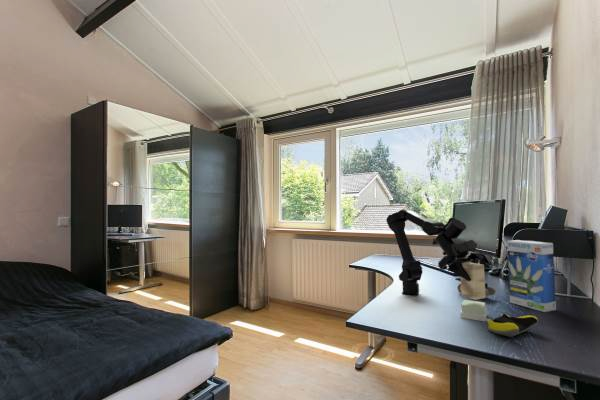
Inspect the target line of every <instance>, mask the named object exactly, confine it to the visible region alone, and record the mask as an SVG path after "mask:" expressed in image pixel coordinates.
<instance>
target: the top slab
mask: <svg viewBox="0 0 600 400" xmlns="http://www.w3.org/2000/svg"><path fill="white" fill-rule="evenodd" d="M461 308H462V312H468V313H474V314H480V315H484V313H485V310H486V311H487V308H486V302H482V301H476V300H469V299H464V300H463V301H462V303H461Z"/></svg>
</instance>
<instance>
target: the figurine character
mask: <svg viewBox="0 0 600 400" xmlns="http://www.w3.org/2000/svg"><path fill="white" fill-rule="evenodd" d="M454 279H455V281H458V282H461V277H457V278H454ZM488 284H489V283H487V282H485V296H486V298H482V299H481V300H482V301H486V300H490V298H489V296H493V295H495V294H496V293H497V292H496V288H494V287H492V286H489V285H488ZM457 291H458V292H459V293H460V294H461V283H458V286H457Z"/></svg>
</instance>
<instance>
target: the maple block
mask: <svg viewBox="0 0 600 400" xmlns="http://www.w3.org/2000/svg"><path fill="white" fill-rule="evenodd" d="M462 266H463V268H464V269H465V271H466V272H467V274H468V275H469V277H470V278H471V281H467V280H466V279H464V278H462V277H460V278H461V281H460V284H461V293H460V294H461V297H464V298H468V299H471V300H473V301H476V300H482V299H485V298H486V296H485V283H486V282H485V281H486V279H485V277H486V276H485V265H484V264H483V263H482V264H481V263H478V264H476V263H462Z"/></svg>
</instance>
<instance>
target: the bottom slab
mask: <svg viewBox="0 0 600 400" xmlns="http://www.w3.org/2000/svg"><path fill="white" fill-rule="evenodd" d="M487 311H488V310H487V309H486V310H485V313H484V315H480V314H474V313H468V312H462V308H461V309H460V311H459V312H460V318H461V319H462V318H463V319H467V320H475V321H481V322H487V319H488V317H487V316H488V314H487Z"/></svg>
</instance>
